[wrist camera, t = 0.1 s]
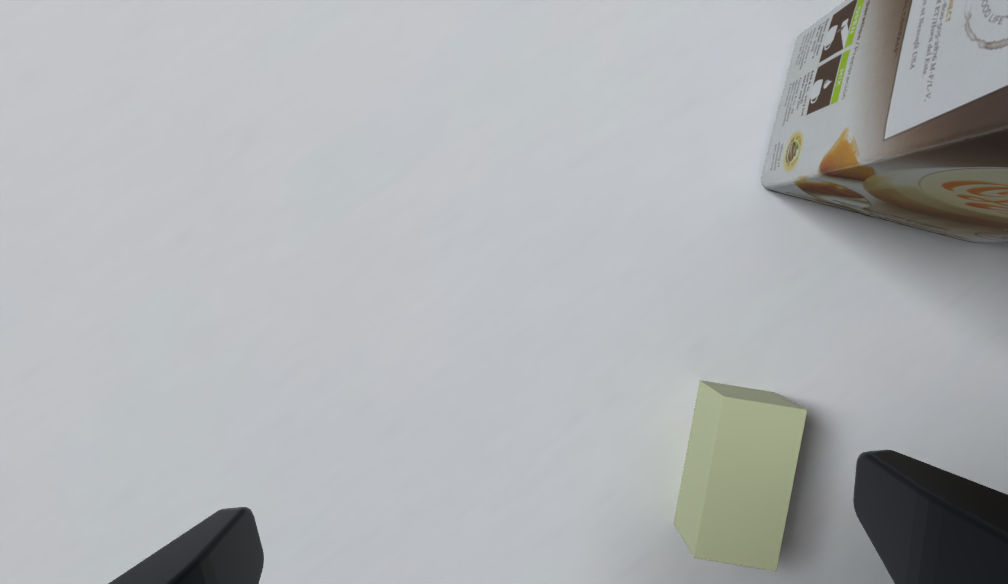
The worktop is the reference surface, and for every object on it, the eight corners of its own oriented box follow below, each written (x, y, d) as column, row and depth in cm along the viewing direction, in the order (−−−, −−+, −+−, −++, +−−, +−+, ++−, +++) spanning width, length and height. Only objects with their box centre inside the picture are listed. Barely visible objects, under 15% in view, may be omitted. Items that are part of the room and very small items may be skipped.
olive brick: (744, 533, 25) (775, 571, 22) (672, 521, 25) (694, 557, 22) (771, 391, 24) (807, 409, 21) (698, 379, 24) (723, 396, 21)
